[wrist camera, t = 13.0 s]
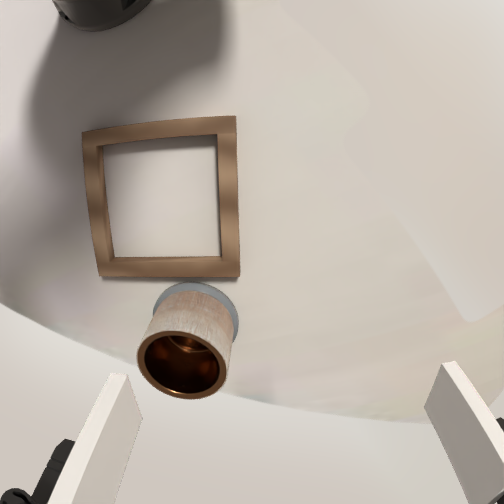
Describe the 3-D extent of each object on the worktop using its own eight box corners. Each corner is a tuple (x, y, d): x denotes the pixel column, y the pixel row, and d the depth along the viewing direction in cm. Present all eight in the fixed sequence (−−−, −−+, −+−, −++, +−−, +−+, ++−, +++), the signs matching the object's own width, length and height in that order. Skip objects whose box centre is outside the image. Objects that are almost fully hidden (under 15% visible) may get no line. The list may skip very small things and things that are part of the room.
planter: (144, 296, 42) (119, 336, 33) (220, 280, 40) (210, 320, 31) (173, 358, 45) (158, 403, 36) (243, 347, 44) (240, 394, 35)
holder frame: (88, 132, 35) (81, 132, 33) (236, 116, 34) (235, 115, 33) (104, 270, 41) (99, 276, 40) (240, 270, 41) (239, 276, 39)
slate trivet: (148, 281, 42) (146, 283, 41) (236, 281, 41) (236, 284, 41) (161, 352, 46) (160, 355, 45) (240, 354, 46) (239, 358, 45)
